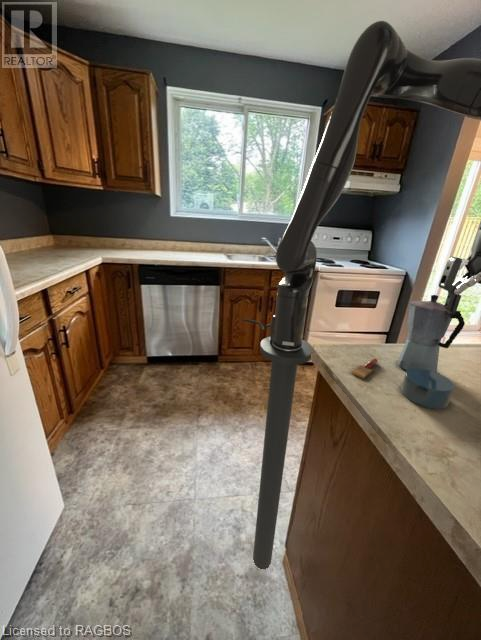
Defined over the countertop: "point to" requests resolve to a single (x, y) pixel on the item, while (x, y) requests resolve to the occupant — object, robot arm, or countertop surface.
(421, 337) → the moka pot
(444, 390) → the pot
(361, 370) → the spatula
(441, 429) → the countertop surface
